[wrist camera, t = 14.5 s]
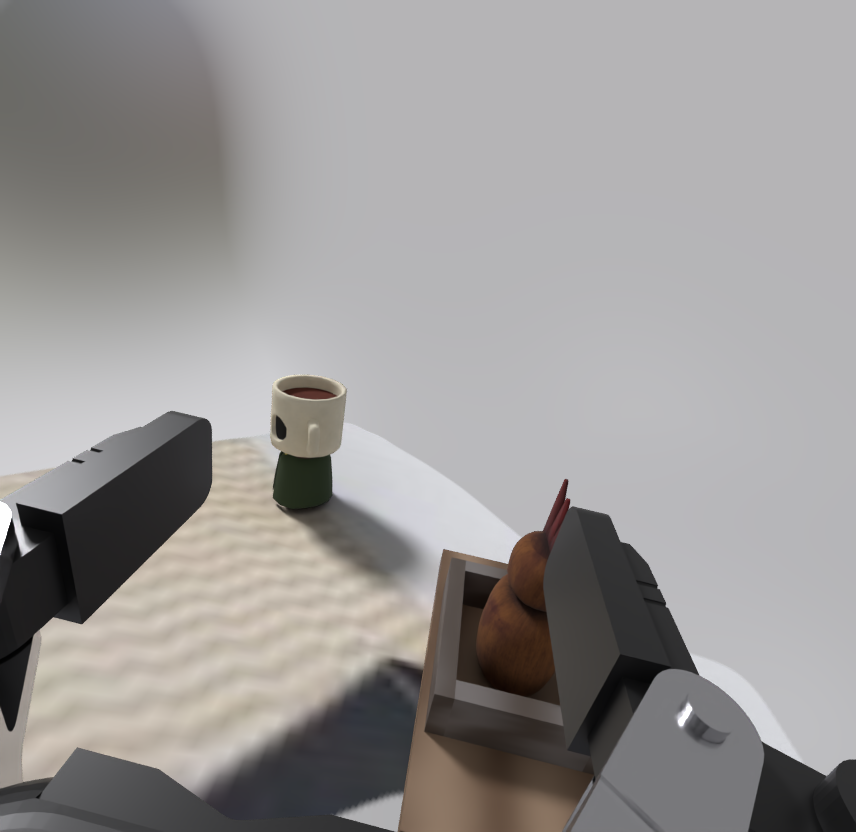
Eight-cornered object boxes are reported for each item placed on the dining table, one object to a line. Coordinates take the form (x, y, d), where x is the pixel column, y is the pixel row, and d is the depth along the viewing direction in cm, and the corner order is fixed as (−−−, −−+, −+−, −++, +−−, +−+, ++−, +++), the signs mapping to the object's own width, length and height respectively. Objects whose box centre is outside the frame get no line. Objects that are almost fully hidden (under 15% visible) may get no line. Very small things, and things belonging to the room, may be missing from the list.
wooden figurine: (489, 617, 36) (540, 457, 30) (559, 655, 34) (628, 491, 28) (453, 682, 31) (506, 500, 25) (534, 733, 28) (613, 547, 22)
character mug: (266, 471, 52) (270, 365, 47) (328, 469, 55) (338, 369, 50) (268, 531, 43) (273, 409, 38) (342, 526, 46) (356, 411, 41)
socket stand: (395, 845, 23) (410, 791, 21) (440, 561, 44) (450, 519, 42) (625, 908, 23) (663, 857, 21) (563, 589, 43) (579, 548, 41)
